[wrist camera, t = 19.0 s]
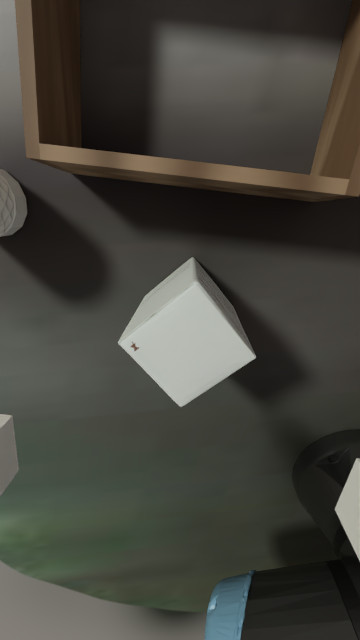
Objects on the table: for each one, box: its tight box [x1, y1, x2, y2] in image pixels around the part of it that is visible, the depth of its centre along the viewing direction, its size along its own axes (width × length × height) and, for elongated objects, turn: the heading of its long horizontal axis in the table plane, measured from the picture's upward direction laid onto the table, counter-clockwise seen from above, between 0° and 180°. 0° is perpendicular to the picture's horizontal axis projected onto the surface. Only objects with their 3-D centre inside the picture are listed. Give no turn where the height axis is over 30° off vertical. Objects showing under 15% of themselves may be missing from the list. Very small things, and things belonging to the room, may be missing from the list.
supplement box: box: [118, 257, 256, 407], centre depth 26 cm, size 7×7×13 cm
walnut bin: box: [15, 0, 360, 202], centre depth 21 cm, size 24×17×8 cm
